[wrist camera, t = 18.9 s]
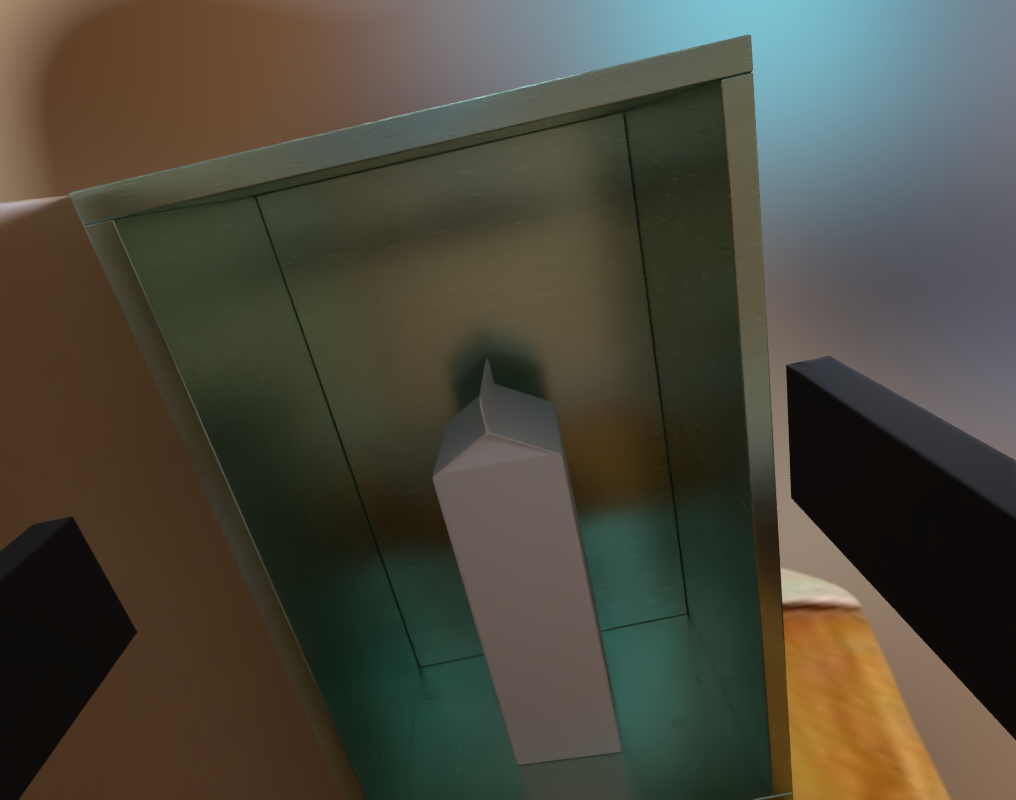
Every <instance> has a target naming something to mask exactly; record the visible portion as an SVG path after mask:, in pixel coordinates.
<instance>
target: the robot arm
mask: <svg viewBox="0 0 1016 800" xmlns="http://www.w3.org/2000/svg"><path fill="white" fill-rule="evenodd" d="M786 372H787V399H788V424H789V451H790V476H791V498H792V499H793V500H794V501H795V502H796V503H797V505H798V506H799V507H800V508H801V509H802V510H803V511H804V512H805V513H806V514H807V515H808V516H809V517H810V519H811V520H812V521H813V522H814V523H815V524H816V525H817V526H818V527H819V528H820V529H821V530H822V531H823V533H824V534H825V535H826V536H827V537H828V538H829V539H830V540H831V541H832V542H833V543H834V545H835V546H837V548H838V549H839V550H840V551H841V552H842V553H843V554H844V555H845V556H846V557H847V559H848V560H849V561H850V562H851V563H852V564H853V565H854V566H855V567H856V568H857V569H858V570H859V571H860V573H861V574H862V575H863V576H864V577H865V578H866V579H867V580H868V581H869V582H870V583H871V584H872V586H873V587H874V588H875V589H876V590H877V591H878V592H879V593H880V594H881V595H882V596H883V597H884V598H885V600H886V601H887V602H888V603H889V604H890V605H891V606H892V607H893V608H894V609H895V610H896V611H897V612H898V614H899V615H900V616H901V617H902V618H903V619H904V620H905V621H906V622H907V623H908V624H909V625H910V627H911V628H912V629H913V630H914V631H915V632H916V633H917V634H918V635H919V636H920V637H921V638H922V639H923V641H924V642H925V643H926V644H927V645H928V646H929V647H930V648H931V649H932V650H933V651H934V652H935V654H936V655H938V657H939V658H940V659H941V660H942V661H943V662H944V663H945V664H946V665H947V666H948V668H950V670H951V671H952V672H953V673H954V674H955V675H956V676H957V677H958V678H959V679H960V680H961V681H962V682H963V684H965V686H966V687H967V688H968V689H969V690H970V691H971V692H972V693H973V694H974V696H975V697H976V698H977V699H978V700H979V701H980V702H981V703H982V704H983V705H984V706H985V707H986V708H987V710H988V711H989V712H990V713H991V714H992V715H993V716H994V717H995V718H996V719H997V720H998V721H999V723H1000V724H1001V725H1002V726H1003V727H1004V728H1005V729H1006V730H1007V731H1008V732H1009V733H1010V734H1011V735H1012V736H1013V738H1014V739H1015V740H1016V461H1015V460H1014V459H1012V458H1010V457H1008V456H1007V455H1005V454H1003V453H1001V452H999V451H998V450H996V449H994V448H992V447H991V446H989V445H987V444H985V443H983V442H982V441H980V440H978V439H976V438H975V437H973V436H971V435H969V434H967V433H966V432H964V431H962V430H960V429H958V428H957V427H955V426H953V425H951V424H950V423H948V422H946V421H944V420H943V419H941V418H939V417H937V416H935V415H934V414H932V413H930V412H928V411H927V410H925V409H923V408H921V407H919V406H918V405H916V404H914V403H912V402H911V401H909V400H907V399H905V398H903V397H902V396H900V395H898V394H896V393H894V392H893V391H891V390H889V389H887V388H886V387H884V386H882V385H880V384H878V383H877V382H875V381H873V380H871V379H870V378H868V377H866V376H864V375H863V374H861V373H859V372H857V371H856V370H854V369H852V368H850V367H848V366H847V365H845V364H843V363H841V362H840V361H837V360H836V359H834V358H832V357H831V356H827V357H822V358H817V359H812V360H807V361H803V362H798V363H793V364H789V365H786ZM136 634H137V630H136V629H135V627H134V625H133V623H132V621H131V620H130V618H129V616H128V614H127V612H126V611H125V609H124V607H123V605H122V603H121V602H120V600H119V598H118V596H117V595H116V593H115V591H114V589H113V587H112V586H111V584H110V582H109V580H108V578H107V577H106V575H105V573H104V571H103V570H102V568H101V566H100V564H99V562H98V561H97V559H96V557H95V555H94V553H93V552H92V550H91V548H90V546H89V544H88V543H87V541H86V539H85V537H84V536H83V534H82V532H81V530H80V528H79V527H78V525H77V523H76V521H75V519H74V518H73V516H71V517H66V518H61V519H57V520H52V521H47V522H42V523H38V524H33V525H31V526H30V527H29V528H28V529H27V530H25V531H24V532H23V533H22V534H21V535H19V536H18V537H17V538H16V539H15V540H13V541H12V542H11V543H10V544H9V545H7V546H6V547H5V548H4V549H3V550H1V551H0V800H19V799H20V797H21V796H22V795H23V793H24V792H25V790H26V789H27V788H28V786H29V785H30V783H31V782H32V780H33V779H34V778H35V776H36V775H37V773H38V772H39V771H40V769H41V768H42V766H43V765H44V763H45V762H46V761H47V759H48V758H49V756H50V755H51V754H52V752H53V751H54V749H55V748H56V747H57V745H58V744H59V742H60V741H61V739H62V738H63V737H64V735H65V734H66V732H67V731H68V730H69V728H70V727H71V725H72V724H73V723H74V721H75V720H76V718H77V717H78V715H79V714H80V713H81V711H82V710H83V708H84V707H85V706H86V704H87V703H88V701H89V700H90V699H91V697H92V696H93V694H94V693H95V691H96V690H97V689H98V687H99V686H100V684H101V683H102V682H103V680H104V679H105V677H106V676H107V674H108V673H109V672H110V670H111V669H112V667H113V666H114V665H115V663H116V662H117V660H118V659H119V658H120V656H121V655H122V653H123V652H124V650H125V649H126V648H127V646H128V645H129V643H130V642H131V641H132V639H133V638H134V636H135V635H136Z"/></svg>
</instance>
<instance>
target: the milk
mask: <svg viewBox="0 0 1016 800" xmlns="http://www.w3.org/2000/svg"><path fill="white" fill-rule="evenodd" d="M432 480H433V483H434V487H435V490H436V494H437V497H438V500H439V504H440V507H441V510H442V514H443V517H444V521H445V524H446V527H447V531H448V534H449V538H450V541H451V544H452V548H453V551H454V554H455V558H456V561H457V565H458V568H459V571H460V575H461V578H462V581H463V585H464V588H465V592H466V595H467V598H468V602H469V605H470V608H471V612H472V615H473V619H474V622H475V625H476V629H477V632H478V636H479V639H480V642H481V646H482V649H483V652H484V656H485V659H486V663H487V666H488V669H489V673H490V676H491V679H492V683H493V686H494V690H495V693H496V696H497V700H498V703H499V707H500V710H501V713H502V717H503V720H504V723H505V727H506V730H507V734H508V737H509V740H510V744H511V747H512V750H513V754H514V757H515V761H516V763H517V765H523V764H531V763H538V762H546V761H554V760H562V759H569V758H577V757H585V756H593V755H600V754H608V753H616V752H621V743H620V737H619V731H618V725H617V719H616V713H615V707H614V700H613V694H612V688H611V682H610V676H609V670H608V665H607V660H606V655H605V650H604V645H603V640H602V635H601V630H600V625H599V620H598V615H597V610H596V605H595V600H594V595H593V590H592V584H591V579H590V574H589V569H588V564H587V559H586V554H585V549H584V544H583V539H582V534H581V529H580V524H579V519H578V514H577V509H576V504H575V499H574V494H573V489H572V484H571V479H570V474H569V469H568V464H567V459H566V454H565V449H564V444H563V439H562V434H561V429H560V424H559V419H558V414H557V409H556V405H555V403H553V402H550V401H547V400H544V399H541V398H538V397H535V396H531V395H528V394H525V393H522V392H519V391H516V390H513V389H509V388H506V387H503V386H500V385H497V384H495V383H494V380H493V376H492V372H491V368H490V364H489V360H488V359H486V360H485V366H484V372H483V378H482V383H481V389H480V395H479V396H478V397H477V398H476V399H474V400H473V401H472V402H471V403H470V404H469V405H467V406H466V407H465V408H464V409H463V410H462V411H460V412H459V413H458V414H457V415H456V416H455V417H453V418H452V419H451V420H450V421H449V422H448V423H447V425H446V428H445V432H444V436H443V439H442V443H441V447H440V450H439V454H438V458H437V461H436V465H435V468H434V472H433V476H432Z"/></svg>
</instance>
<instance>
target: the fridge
mask: <svg viewBox="0 0 1016 800" xmlns="http://www.w3.org/2000/svg"><path fill="white" fill-rule="evenodd" d="M751 46H752V45H751V35H745V36H741V37H737V38H732V39H728V40H724V41H719V42H715V43H711V44H706V45H702V46H698V47H693V48H689V49H685V50H680V51H677V52H672V53H668V54H663V55H659V56H654V57H650V58H646V59H642V60H637V61H633V62H629V63H624V64H620V65H616V66H612V67H607V68H603V69H599V70H594V71H590V72H586V73H581V74H578V75H573V76H568V77H564V78H560V79H556V80H551V81H547V82H543V83H538V84H534V85H530V86H526V87H521V88H517V89H512V90H508V91H504V92H500V93H495V94H491V95H486V96H483V97H478V98H474V99H469V100H465V101H461V102H456V103H453V104H448V105H444V106H439V107H435V108H430V109H427V110H422V111H418V112H413V113H410V114H405V115H401V116H396V117H392V118H387V119H383V120H379V121H375V122H371V123H366V124H362V125H357V126H353V127H349V128H344V129H340V130H336V131H332V132H327V133H323V134H319V135H314V136H310V137H306V138H302V139H297V140H293V141H289V142H284V143H280V144H275V145H271V146H267V147H263V148H258V149H254V150H250V151H245V152H241V153H237V154H232V155H229V156H225V157H220V158H215V159H211V160H207V161H202V162H198V163H194V164H189V165H185V166H181V167H177V168H172V169H168V170H163V171H159V172H155V173H151V174H146V175H142V176H138V177H134V178H129V179H125V180H120V181H117V182H112V183H108V184H103V185H99V186H95V187H90V188H86V189H82V190H77V191H73V192H70V193H69V196H70V197H71V199H72V201H73V204H74V206H75V208H76V210H77V212H78V215H79V217H80V219H81V221H82V223H83V225H85V226H84V228H85V230H86V232H87V234H88V236H89V239H90V241H91V243H92V245H93V247H94V250H95V252H96V254H97V256H98V258H99V261H100V263H101V265H102V267H103V269H104V272H105V274H106V276H107V278H108V280H109V283H110V285H111V287H112V289H113V291H114V294H115V296H116V298H117V300H118V302H119V304H120V307H121V309H122V311H123V313H124V315H125V318H126V320H127V322H128V324H129V326H130V329H131V331H132V333H133V335H134V337H135V340H136V342H137V344H138V346H139V348H140V351H141V353H142V355H143V357H144V359H145V361H146V364H147V366H148V368H149V370H150V372H151V375H152V377H153V379H154V381H155V383H156V386H157V388H158V390H159V392H160V394H161V397H162V399H163V401H164V403H165V405H166V408H167V410H168V412H169V414H170V416H171V418H172V421H173V423H174V425H175V427H176V429H177V432H178V434H179V436H180V438H181V440H182V443H183V445H184V447H185V449H186V451H187V454H188V456H189V458H190V460H191V462H192V465H193V467H194V469H195V471H196V473H197V475H198V478H199V480H200V482H201V484H202V486H203V489H204V491H205V493H206V495H207V497H208V500H209V502H210V504H211V506H212V508H213V511H214V513H215V515H216V517H217V519H218V522H219V524H220V526H221V528H222V530H223V532H224V535H225V537H226V539H227V541H228V543H229V546H230V548H231V550H232V552H233V554H234V557H235V559H236V561H237V563H238V565H239V568H240V570H241V572H242V574H243V576H244V579H245V581H246V583H247V585H248V587H249V589H250V592H251V594H252V596H253V598H254V600H255V603H256V605H257V607H258V609H259V611H260V614H261V616H262V618H263V620H264V622H265V625H266V627H267V629H268V631H269V633H270V636H271V638H272V640H273V642H274V644H275V646H276V649H277V651H278V653H279V655H280V657H281V660H282V662H283V664H284V666H285V668H286V671H287V673H288V675H289V677H290V679H291V682H292V684H293V686H294V688H295V690H296V693H297V695H298V697H299V699H300V701H301V703H302V706H303V708H304V710H305V712H306V714H307V717H308V719H309V721H310V723H311V725H312V728H313V730H314V732H315V734H316V736H317V739H318V741H319V743H320V745H321V747H322V750H323V752H324V754H325V756H326V758H327V760H328V763H329V765H330V767H331V769H332V771H333V774H334V776H335V778H336V780H337V782H338V785H339V787H340V789H341V791H342V793H343V796H344V798H345V800H793V788H792V770H791V752H790V734H789V716H788V698H787V680H786V662H785V644H784V626H783V608H782V590H781V572H780V555H779V536H778V518H777V501H776V500H777V499H776V482H775V463H774V448H773V447H774V445H773V428H772V409H771V392H770V373H769V355H768V337H767V321H766V320H767V319H766V302H765V284H764V266H763V249H762V229H761V212H760V193H759V174H758V157H757V139H756V121H755V104H754V84H753V73H751V72H752V70H753V63H752V47H751ZM486 359H488V360H489V364H490V368H491V372H492V376H493V380H494V383H495V384H497V385H500V386H503V387H506V388H509V389H513V390H516V391H519V392H522V393H525V394H528V395H531V396H535V397H538V398H541V399H544V400H547V401H550V402H553V403H555V405H556V409H557V414H558V419H559V424H560V429H561V434H562V439H563V444H564V449H565V454H566V459H567V464H568V469H569V474H570V479H571V484H572V489H573V494H574V499H575V504H576V509H577V514H578V519H579V524H580V529H581V534H582V539H583V544H584V549H585V554H586V559H587V564H588V569H589V574H590V579H591V584H592V590H593V595H594V600H595V605H596V610H597V615H598V620H599V625H600V630H601V635H602V640H603V645H604V650H605V655H606V660H607V665H608V670H609V676H610V682H611V688H612V694H613V700H614V707H615V713H616V719H617V725H618V731H619V737H620V743H621V752H616V753H608V754H600V755H593V756H585V757H577V758H569V759H562V760H554V761H546V762H538V763H531V764H523V765H517V763H516V761H515V757H514V754H513V750H512V747H511V744H510V740H509V737H508V734H507V730H506V727H505V723H504V720H503V717H502V713H501V710H500V707H499V703H498V700H497V696H496V693H495V690H494V686H493V683H492V679H491V676H490V673H489V669H488V666H487V663H486V659H485V656H484V652H483V649H482V646H481V642H480V639H479V636H478V632H477V629H476V625H475V622H474V619H473V615H472V612H471V608H470V605H469V602H468V598H467V595H466V592H465V588H464V585H463V581H462V578H461V575H460V571H459V568H458V565H457V561H456V558H455V554H454V551H453V548H452V544H451V541H450V538H449V534H448V531H447V527H446V524H445V521H444V517H443V514H442V510H441V507H440V504H439V500H438V497H437V494H436V490H435V487H434V483H433V480H432V476H433V472H434V468H435V465H436V461H437V458H438V454H439V450H440V447H441V443H442V439H443V436H444V432H445V428H446V425H447V423H448V422H449V421H450V420H451V419H452V418H453V417H455V416H456V415H457V414H458V413H459V412H460V411H462V410H463V409H464V408H465V407H466V406H467V405H469V404H470V403H471V402H472V401H473V400H474V399H476V398H477V397H478V396H479V395H480V389H481V383H482V378H483V372H484V366H485V360H486Z"/></svg>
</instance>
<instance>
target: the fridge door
mask: <svg viewBox="0 0 1016 800" xmlns="http://www.w3.org/2000/svg"><path fill="white" fill-rule="evenodd" d="M71 516H73V518H74V519H75V521H76V523H77V525H78V527H79V528H80V530H81V532H82V534H83V536H84V537H85V539H86V541H87V543H88V544H89V546H90V548H91V550H92V552H93V553H94V555H95V557H96V559H97V561H98V562H99V564H100V566H101V568H102V570H103V571H104V573H105V575H106V577H107V578H108V580H109V582H110V584H111V586H112V587H113V589H114V591H115V593H116V595H117V596H118V598H119V600H120V602H121V603H122V605H123V607H124V609H125V611H126V612H127V614H128V616H129V618H130V620H131V621H132V623H133V625H134V627H135V629H136V630H137V634H136V635H135V636H134V638H133V639H132V641H131V642H130V643H129V645H128V646H127V648H126V649H125V650H124V652H123V653H122V655H121V656H120V658H119V659H118V660H117V662H116V663H115V665H114V666H113V667H112V669H111V670H110V672H109V673H108V674H107V676H106V677H105V679H104V680H103V682H102V683H101V684H100V686H99V687H98V689H97V690H96V691H95V693H94V694H93V696H92V697H91V699H90V700H89V701H88V703H87V704H86V706H85V707H84V708H83V710H82V711H81V713H80V714H79V715H78V717H77V718H76V720H75V721H74V723H73V724H72V725H71V727H70V728H69V730H68V731H67V732H66V734H65V735H64V737H63V738H62V739H61V741H60V742H59V744H58V745H57V747H56V748H55V749H54V751H53V752H52V754H51V755H50V756H49V758H48V759H47V761H46V762H45V763H44V765H43V766H42V768H41V769H40V771H39V772H38V773H37V775H36V776H35V778H34V779H33V780H32V782H31V783H30V785H29V786H28V788H27V789H26V790H25V792H24V793H23V795H22V796H21V797H20V799H19V800H345V798H344V796H343V793H342V791H341V789H340V787H339V785H338V782H337V780H336V778H335V776H334V774H333V771H332V769H331V767H330V765H329V763H328V760H327V758H326V756H325V754H324V752H323V750H322V747H321V745H320V743H319V741H318V739H317V736H316V734H315V732H314V730H313V728H312V725H311V723H310V721H309V719H308V717H307V714H306V712H305V710H304V708H303V706H302V703H301V701H300V699H299V697H298V695H297V693H296V690H295V688H294V686H293V684H292V682H291V679H290V677H289V675H288V673H287V671H286V668H285V666H284V664H283V662H282V660H281V657H280V655H279V653H278V651H277V649H276V646H275V644H274V642H273V640H272V638H271V636H270V633H269V631H268V629H267V627H266V625H265V622H264V620H263V618H262V616H261V614H260V611H259V609H258V607H257V605H256V603H255V600H254V598H253V596H252V594H251V592H250V589H249V587H248V585H247V583H246V581H245V579H244V576H243V574H242V572H241V570H240V568H239V565H238V563H237V561H236V559H235V557H234V554H233V552H232V550H231V548H230V546H229V543H228V541H227V539H226V537H225V535H224V532H223V530H222V528H221V526H220V524H219V522H218V519H217V517H216V515H215V513H214V511H213V508H212V506H211V504H210V502H209V500H208V497H207V495H206V493H205V491H204V489H203V486H202V484H201V482H200V480H199V478H198V475H197V473H196V471H195V469H194V467H193V465H192V462H191V460H190V458H189V456H188V454H187V451H186V449H185V447H184V445H183V443H182V440H181V438H180V436H179V434H178V432H177V429H176V427H175V425H174V423H173V421H172V418H171V416H170V414H169V412H168V410H167V408H166V405H165V403H164V401H163V399H162V397H161V394H160V392H159V390H158V388H157V386H156V383H155V381H154V379H153V377H152V375H151V372H150V370H149V368H148V366H147V364H146V361H145V359H144V357H143V355H142V353H141V351H140V348H139V346H138V344H137V342H136V340H135V337H134V335H133V333H132V331H131V329H130V326H129V324H128V322H127V320H126V318H125V315H124V313H123V311H122V309H121V307H120V304H119V302H118V300H117V298H116V296H115V294H114V291H113V289H112V287H111V285H110V283H109V280H108V278H107V276H106V274H105V272H104V269H103V267H102V265H101V263H100V261H99V258H98V256H97V254H96V252H95V250H94V247H93V245H92V243H91V241H90V239H89V236H88V234H87V232H86V230H85V228H84V226H83V223H82V221H81V219H80V217H79V215H78V212H77V210H76V208H75V206H74V204H73V201H72V199H71V197H70V196H57V197H47V198H36V199H25V200H15V201H4V202H0V551H1V550H3V549H4V548H5V547H6V546H7V545H9V544H10V543H11V542H12V541H13V540H15V539H16V538H17V537H18V536H19V535H21V534H22V533H23V532H24V531H25V530H27V529H28V528H29V527H30V526H31V525H33V524H38V523H42V522H47V521H52V520H57V519H61V518H66V517H71Z"/></svg>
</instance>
